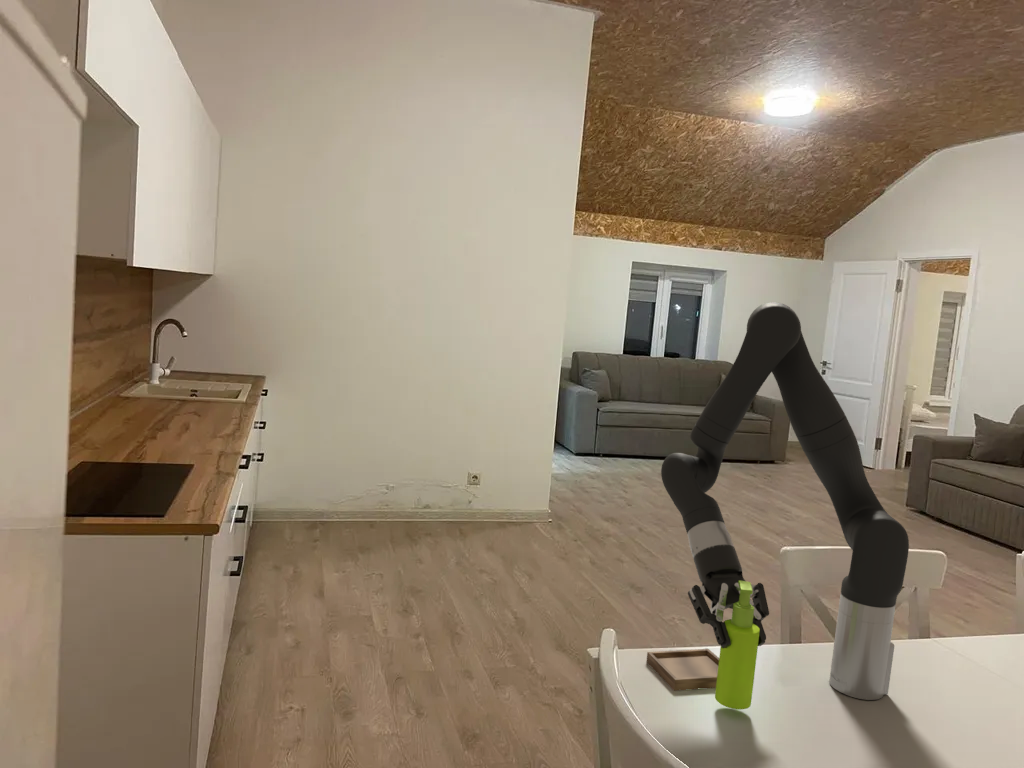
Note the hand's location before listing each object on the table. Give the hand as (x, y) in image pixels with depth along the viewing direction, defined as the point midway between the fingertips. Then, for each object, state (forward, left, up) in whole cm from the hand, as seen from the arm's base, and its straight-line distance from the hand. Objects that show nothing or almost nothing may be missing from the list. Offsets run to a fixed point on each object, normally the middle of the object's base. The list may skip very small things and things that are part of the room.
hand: (743, 645), depth 130 cm
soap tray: (0, -15, -12) cm, 19 cm away
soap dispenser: (0, -2, -10) cm, 11 cm away
